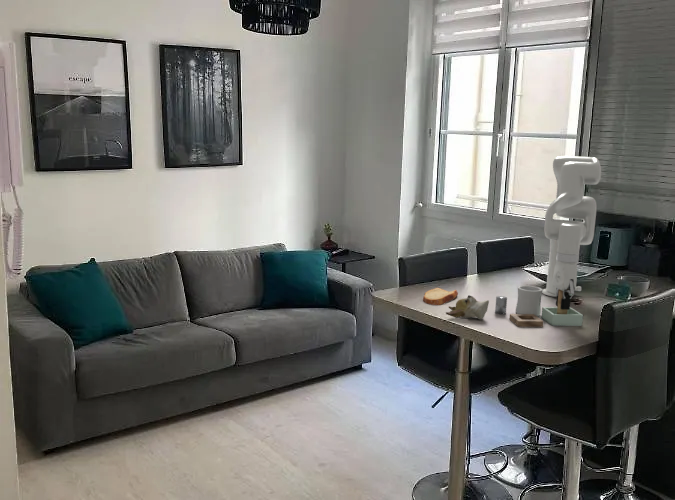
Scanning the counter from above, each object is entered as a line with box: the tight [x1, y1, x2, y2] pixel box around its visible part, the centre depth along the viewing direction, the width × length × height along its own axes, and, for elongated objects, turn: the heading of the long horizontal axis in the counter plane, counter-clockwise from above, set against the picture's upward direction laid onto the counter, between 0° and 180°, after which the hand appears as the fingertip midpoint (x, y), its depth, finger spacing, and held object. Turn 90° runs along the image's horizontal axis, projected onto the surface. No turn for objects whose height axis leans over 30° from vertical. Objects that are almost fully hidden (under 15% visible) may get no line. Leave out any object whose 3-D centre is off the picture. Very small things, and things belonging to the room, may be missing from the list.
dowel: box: [556, 289, 569, 314], centre depth 238 cm, size 4×4×12 cm
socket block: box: [509, 313, 544, 328], centre depth 236 cm, size 9×9×2 cm
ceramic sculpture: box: [445, 294, 490, 320], centre depth 240 cm, size 11×9×15 cm
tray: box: [540, 306, 584, 327], centre depth 239 cm, size 11×10×4 cm
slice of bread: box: [422, 287, 459, 306], centre depth 267 cm, size 18×18×4 cm
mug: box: [515, 285, 543, 317], centre depth 249 cm, size 12×9×10 cm
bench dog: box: [494, 295, 508, 315], centre depth 248 cm, size 4×4×6 cm
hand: (562, 307), depth 239 cm, fingers closed on dowel, 3 cm apart
